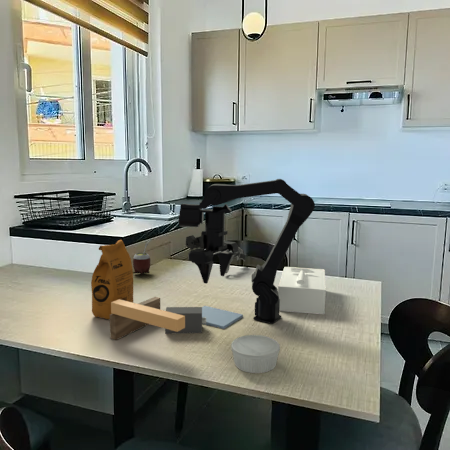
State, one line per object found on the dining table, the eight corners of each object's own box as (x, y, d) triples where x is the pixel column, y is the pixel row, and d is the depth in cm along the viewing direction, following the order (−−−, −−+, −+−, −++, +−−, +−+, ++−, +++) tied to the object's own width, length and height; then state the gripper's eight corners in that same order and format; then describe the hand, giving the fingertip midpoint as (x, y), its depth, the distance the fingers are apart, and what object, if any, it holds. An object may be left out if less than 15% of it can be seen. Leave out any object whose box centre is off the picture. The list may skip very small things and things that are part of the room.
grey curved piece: (244, 261, 199) (244, 240, 198) (247, 262, 199) (247, 241, 197) (221, 277, 173) (222, 253, 172) (225, 277, 173) (225, 253, 171)
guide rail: (160, 318, 128) (160, 297, 127) (115, 340, 112) (115, 316, 111) (155, 317, 129) (155, 296, 128) (110, 338, 114) (109, 314, 113)
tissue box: (323, 292, 156) (324, 263, 154) (324, 316, 132) (326, 282, 130) (283, 289, 159) (284, 260, 157) (277, 312, 135) (278, 279, 133)
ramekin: (223, 372, 97) (224, 350, 96) (239, 351, 107) (240, 331, 106) (272, 381, 93) (272, 359, 92) (283, 359, 103) (284, 338, 102)
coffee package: (86, 316, 128) (83, 245, 125) (112, 304, 140) (111, 237, 136) (113, 322, 125) (111, 248, 121) (138, 308, 136) (137, 240, 132)
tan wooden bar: (185, 327, 104) (185, 315, 104) (177, 331, 102) (177, 319, 101) (119, 309, 115) (119, 299, 115) (111, 313, 113) (110, 302, 112)
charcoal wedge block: (206, 327, 122) (206, 306, 121) (206, 334, 117) (206, 313, 117) (166, 327, 122) (166, 307, 121) (165, 334, 117) (164, 313, 116)
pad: (242, 317, 129) (242, 314, 129) (223, 329, 120) (223, 326, 120) (204, 308, 137) (204, 305, 137) (183, 319, 127) (183, 316, 127)
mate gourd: (134, 270, 181) (133, 235, 178) (153, 270, 181) (152, 235, 179) (132, 275, 173) (131, 239, 171) (152, 275, 174) (151, 239, 172)
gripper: (209, 221, 137) (208, 268, 139) (172, 229, 121) (173, 282, 123) (239, 224, 131) (238, 274, 133) (205, 233, 115) (205, 289, 118)
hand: (214, 279), depth 127 cm, fingers open, 9 cm apart
